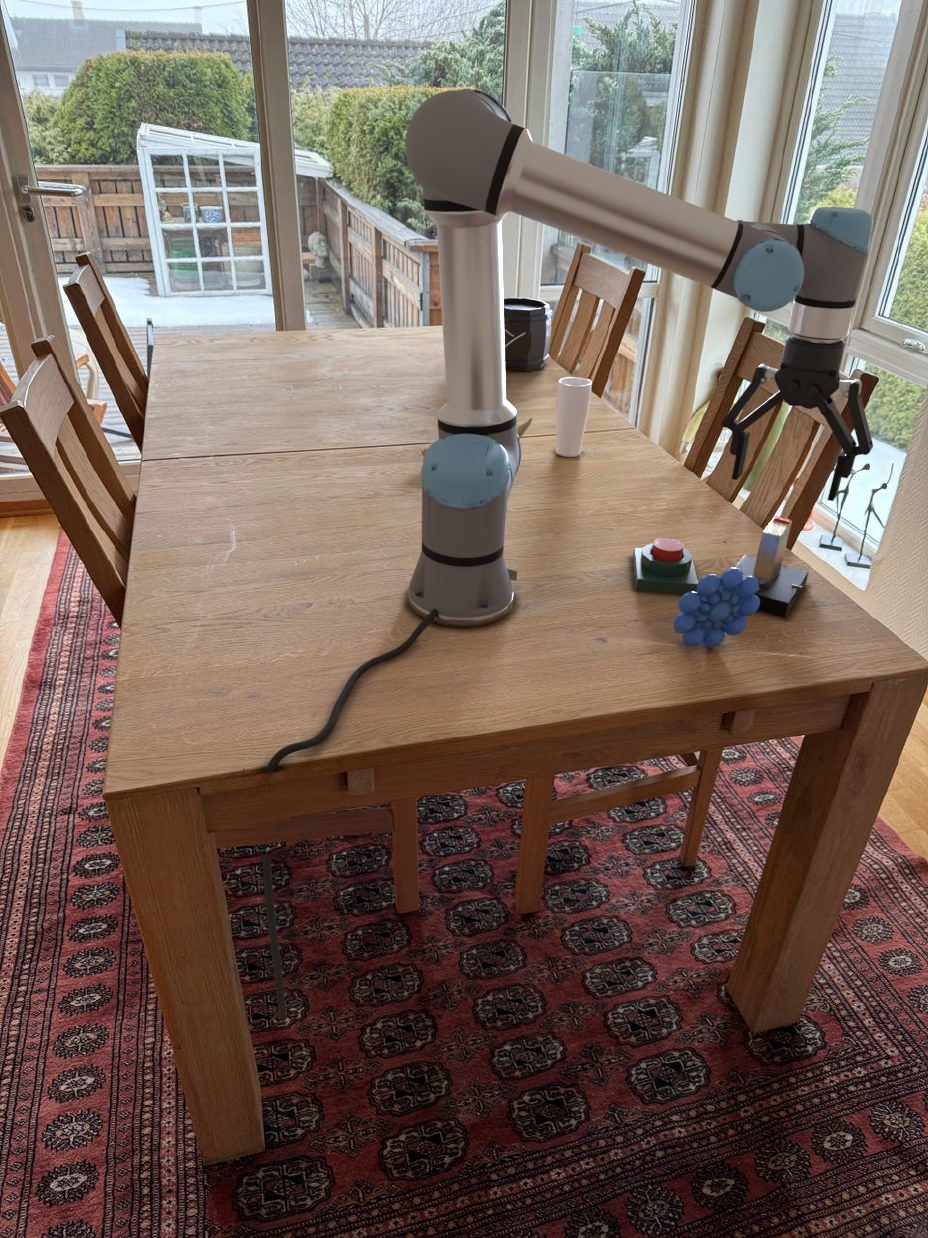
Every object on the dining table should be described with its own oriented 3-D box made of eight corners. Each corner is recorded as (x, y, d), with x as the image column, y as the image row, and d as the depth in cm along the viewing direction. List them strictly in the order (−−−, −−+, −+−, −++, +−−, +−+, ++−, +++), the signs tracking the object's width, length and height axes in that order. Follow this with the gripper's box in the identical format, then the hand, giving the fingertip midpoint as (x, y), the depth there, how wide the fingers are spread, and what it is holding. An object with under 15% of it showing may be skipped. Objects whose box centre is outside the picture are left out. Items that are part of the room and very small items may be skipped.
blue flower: (737, 628, 130) (753, 552, 124) (757, 654, 124) (775, 575, 118) (658, 632, 128) (671, 555, 122) (675, 658, 122) (689, 579, 116)
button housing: (695, 595, 138) (700, 572, 136) (635, 590, 138) (639, 567, 136) (688, 562, 147) (692, 540, 145) (632, 558, 148) (635, 535, 146)
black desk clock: (472, 356, 252) (474, 297, 244) (533, 353, 257) (537, 295, 249) (493, 374, 237) (496, 311, 229) (557, 370, 242) (562, 309, 234)
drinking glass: (546, 455, 187) (552, 382, 180) (559, 445, 192) (565, 374, 185) (577, 461, 185) (584, 388, 177) (589, 451, 190) (597, 380, 182)
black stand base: (787, 619, 132) (791, 603, 131) (715, 598, 137) (718, 582, 136) (807, 586, 141) (811, 571, 140) (739, 568, 146) (742, 553, 145)
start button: (682, 563, 139) (685, 552, 138) (652, 561, 139) (654, 549, 138) (680, 550, 143) (682, 539, 142) (650, 548, 143) (652, 536, 142)
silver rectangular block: (768, 588, 135) (780, 534, 130) (750, 583, 136) (762, 530, 132) (780, 571, 140) (792, 519, 135) (763, 567, 141) (774, 515, 136)
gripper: (922, 345, 118) (879, 497, 129) (732, 317, 129) (707, 461, 139) (913, 357, 112) (869, 515, 123) (715, 327, 123) (691, 476, 134)
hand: (783, 487), depth 131 cm, fingers open, 13 cm apart
